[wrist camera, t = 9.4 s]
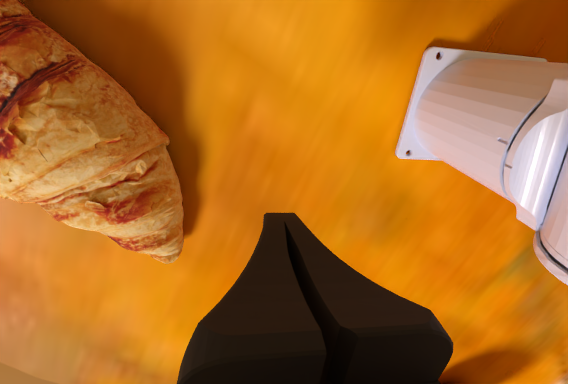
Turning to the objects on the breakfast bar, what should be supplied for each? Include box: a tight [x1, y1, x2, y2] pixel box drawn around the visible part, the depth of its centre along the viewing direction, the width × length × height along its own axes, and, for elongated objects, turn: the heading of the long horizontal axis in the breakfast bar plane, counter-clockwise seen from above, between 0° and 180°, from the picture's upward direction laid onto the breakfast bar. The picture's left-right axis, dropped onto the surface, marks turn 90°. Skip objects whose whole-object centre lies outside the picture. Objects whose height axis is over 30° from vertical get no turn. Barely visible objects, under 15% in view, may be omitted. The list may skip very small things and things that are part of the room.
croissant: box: [0, 0, 184, 264], centre depth 17 cm, size 21×10×8 cm, turn 23°
